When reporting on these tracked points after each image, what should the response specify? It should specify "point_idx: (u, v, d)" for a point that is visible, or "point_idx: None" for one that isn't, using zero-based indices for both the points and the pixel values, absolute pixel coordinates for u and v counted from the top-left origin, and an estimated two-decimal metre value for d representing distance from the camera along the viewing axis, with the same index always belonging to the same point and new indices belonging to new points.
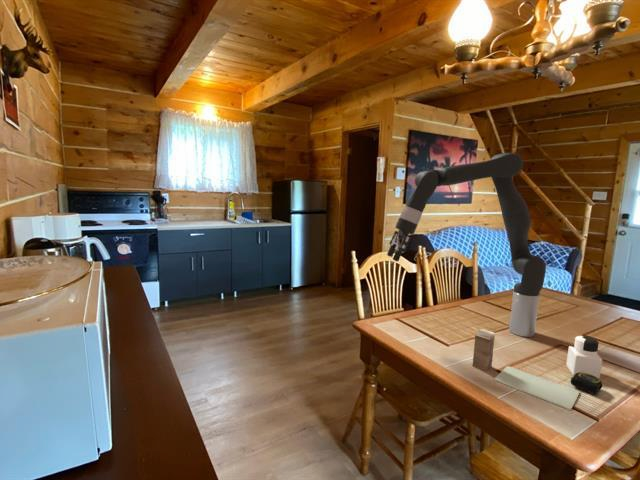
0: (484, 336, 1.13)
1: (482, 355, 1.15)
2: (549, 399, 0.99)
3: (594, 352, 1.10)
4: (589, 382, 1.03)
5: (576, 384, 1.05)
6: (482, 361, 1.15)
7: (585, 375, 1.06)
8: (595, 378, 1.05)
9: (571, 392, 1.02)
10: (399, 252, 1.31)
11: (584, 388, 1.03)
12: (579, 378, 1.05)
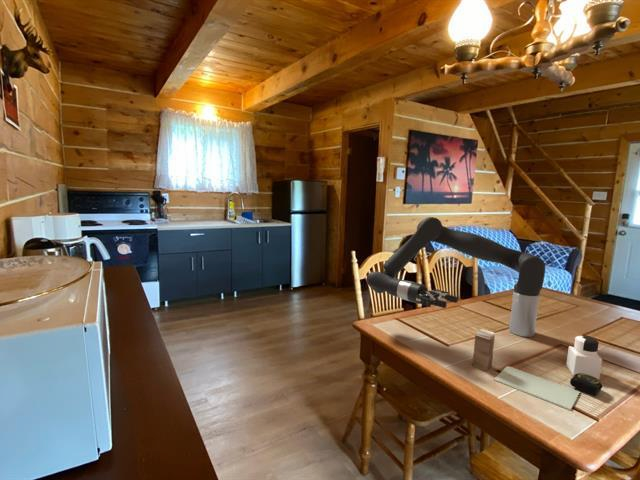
0: (484, 336, 1.13)
1: (482, 355, 1.15)
2: (549, 399, 0.99)
3: (594, 352, 1.10)
4: (589, 383, 1.02)
5: (576, 385, 1.04)
6: (482, 361, 1.15)
7: (584, 376, 1.06)
8: (595, 379, 1.04)
9: (571, 392, 1.02)
10: (434, 303, 1.22)
11: (583, 389, 1.03)
12: (579, 379, 1.04)
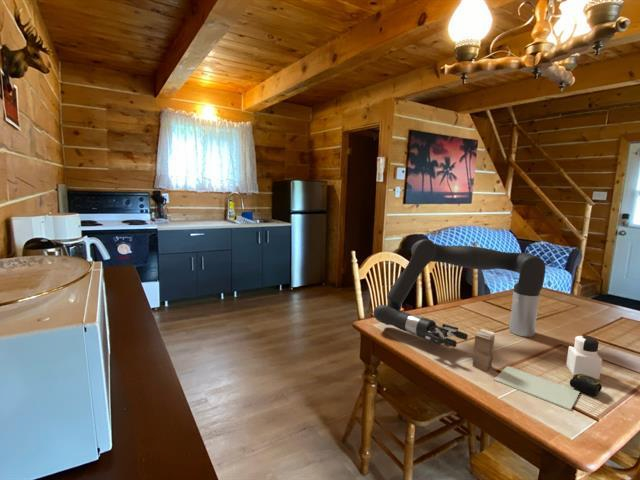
0: (484, 336, 1.13)
1: (482, 355, 1.15)
2: (549, 399, 0.99)
3: (594, 352, 1.10)
4: (588, 384, 1.02)
5: (575, 386, 1.04)
6: (482, 361, 1.15)
7: (584, 377, 1.05)
8: (594, 380, 1.04)
9: (571, 392, 1.02)
10: (444, 342, 1.21)
11: (583, 390, 1.02)
12: (578, 380, 1.04)
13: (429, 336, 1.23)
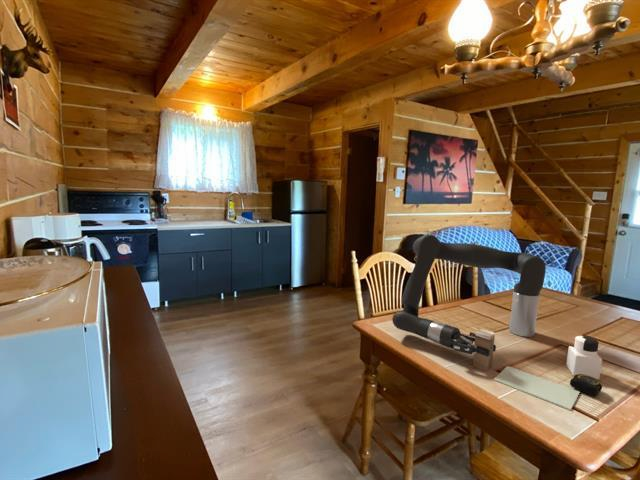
0: (484, 336, 1.13)
1: (482, 355, 1.15)
2: (549, 399, 0.99)
3: (594, 352, 1.10)
4: (588, 384, 1.02)
5: (575, 386, 1.04)
6: (482, 361, 1.15)
7: (584, 377, 1.05)
8: (595, 380, 1.04)
9: (571, 392, 1.02)
10: (476, 350, 1.14)
11: (583, 390, 1.02)
12: (578, 380, 1.04)
13: (459, 346, 1.16)
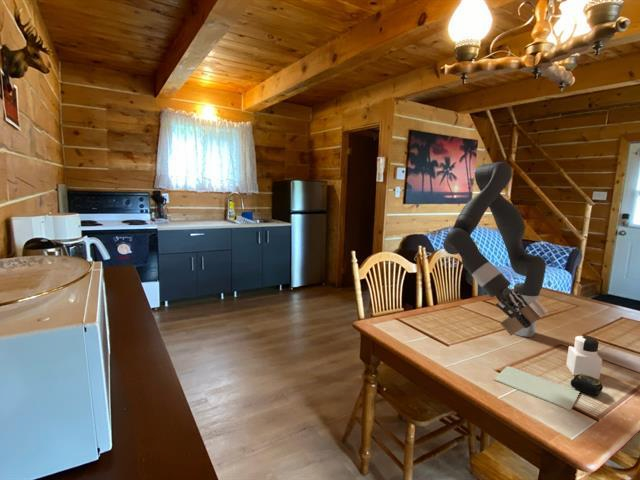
0: (537, 311, 1.01)
1: (519, 323, 1.05)
2: (549, 399, 0.99)
3: (594, 352, 1.10)
4: (589, 384, 1.01)
5: (576, 386, 1.03)
6: (514, 327, 1.07)
7: (585, 377, 1.05)
8: (595, 380, 1.03)
9: (571, 392, 1.02)
10: (518, 317, 1.04)
11: (584, 390, 1.02)
12: (579, 380, 1.04)
13: (505, 305, 1.04)
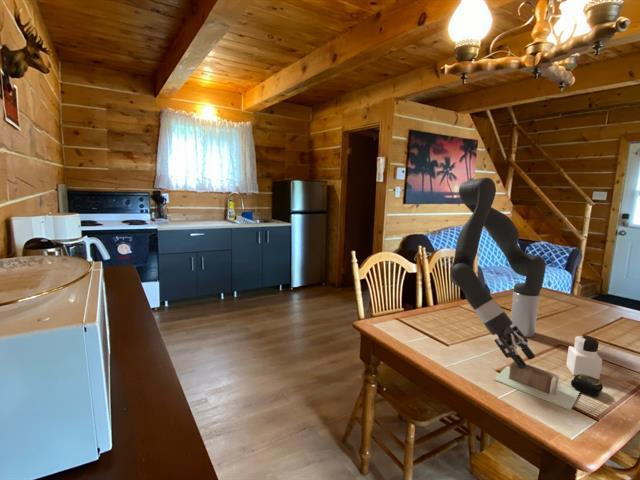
0: (552, 389, 1.01)
1: (526, 380, 1.05)
2: (549, 399, 0.99)
3: (594, 352, 1.10)
4: (590, 384, 1.01)
5: (577, 386, 1.03)
6: (519, 378, 1.07)
7: (585, 377, 1.05)
8: (595, 380, 1.03)
9: (571, 392, 1.02)
10: (513, 357, 1.05)
11: (584, 390, 1.02)
12: (579, 380, 1.03)
13: (503, 343, 1.05)
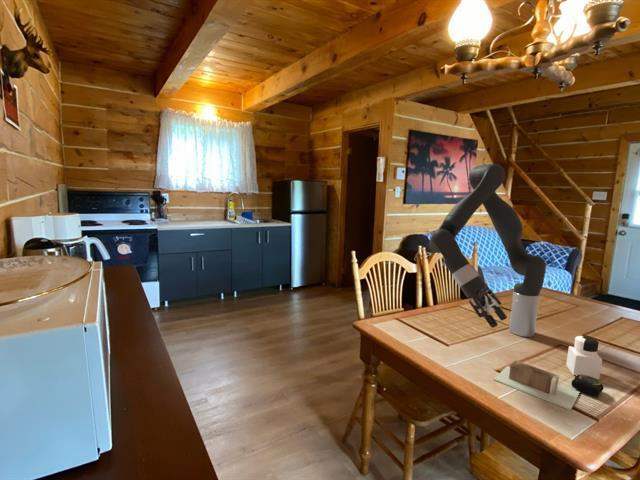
0: (552, 389, 1.01)
1: (526, 380, 1.05)
2: (549, 399, 0.99)
3: (594, 352, 1.10)
4: (590, 385, 1.01)
5: (577, 387, 1.03)
6: (519, 378, 1.07)
7: (586, 377, 1.05)
8: (596, 380, 1.03)
9: (571, 392, 1.02)
10: (486, 317, 1.10)
11: (585, 391, 1.02)
12: (580, 381, 1.03)
13: (476, 303, 1.10)
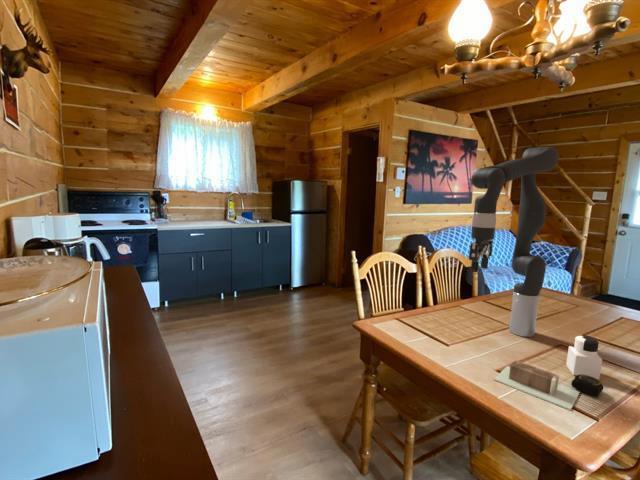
0: (552, 389, 1.01)
1: (526, 380, 1.05)
2: (549, 399, 0.99)
3: (594, 352, 1.10)
4: (590, 385, 1.01)
5: (577, 387, 1.03)
6: (519, 378, 1.07)
7: (585, 377, 1.05)
8: (596, 380, 1.03)
9: (571, 392, 1.02)
10: (473, 262, 1.22)
11: (585, 391, 1.02)
12: (580, 381, 1.03)
13: (475, 249, 1.19)
